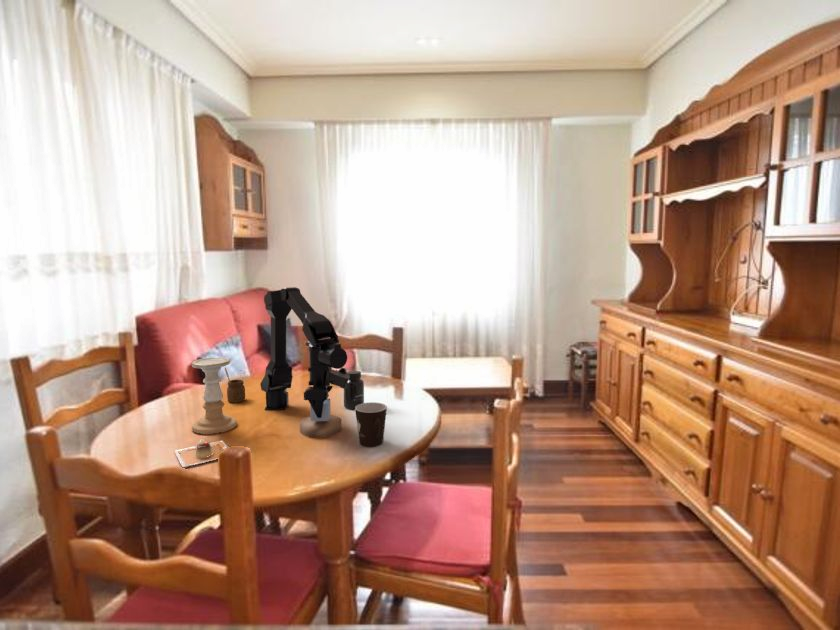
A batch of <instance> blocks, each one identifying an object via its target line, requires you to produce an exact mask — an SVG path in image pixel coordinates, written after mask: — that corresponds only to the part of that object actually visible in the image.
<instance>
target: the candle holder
mask: <svg viewBox="0 0 840 630" xmlns="http://www.w3.org/2000/svg"><path fill="white" fill-rule="evenodd" d="M230 364H231V358H228V357H219V356H218V357H216V356H215V357H207V358H206V357H205V358H199V359H196V360H194V361H192V362H191V367H192V368H195V369H201V370H202V372H204V374H205V377H204V378H203V380H202V383H203V384H205V386H204V392H203V395H202V399H203V401H205V402H204V404H203V405H202V408H203V409H204V410H205V415H204V416H203V417H200V418H199V419H198V420H196V421H194V423H192V425H191V430H192V432H193V431H194V432H193V433H195V432H196V433H195V434H198V433H201V434H200V435H214V434H213V433H216V434H220V433H219V432H221V433H225V432H228V431H231V430H233V429H234V428H235V427H236V426H237V423H238V422H237V419H236V418H235V417H233V416H230V415H229V414H226V413H225V414H224V413H223V407H224V405H225V402H224V401H222V400H223V398H224V393H223V390H222V388H221V384H220V383H221V381H222V378H221V377H220V376H219V372H220V370H221V369H222V368H223V367H225V366H228V365H230Z"/></svg>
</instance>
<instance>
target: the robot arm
mask: <svg viewBox="0 0 840 630" xmlns="http://www.w3.org/2000/svg"><path fill="white" fill-rule="evenodd" d="M263 302H264V304H265V305H264V306H265V310H266V312H267V314H268V315H269V317H270V360H269V362H268V364H267V365H266V367H265V372H264V373H265V374H264V376H263V378H262V379H261V382H260V384H259V385H260V389H261V391H262V392H265V408H264V410H265V411H266V410H276V411H277V410H285V409H286V408H287V407H288V405H289V404H290V403H289V392H288V391H287V389H292V382H293V377H294V376H293V368H292V366H291V365H290V364H289V363H288V361H287V318H288V316H289V315H290V313H291V311H293V313H294V314H295V315H296V317H297V318H298V320H300V322H301V323H302V326H301V327H302V332H303V334H304V336H305V338H306V339H307V341H306V342H305V346H307V347H308V358H309V359H308V360H309V361H308V362H309V363H308V365H309V366H308V367H307V372H308V373H309V380H308V387H307V388H306V389H305V390H304V392H303V400H304V401H308V403H309V404H311V406H312V408H313V410H314V412H315V414H316V416H317V418H321V417H322V411H323V404H324V401H325V400H326V399H329V395H330V394H329V393H330V391H332V389H333V387H334V386H336V387H339V388H341V389H343V390H344V389H345V388H346V385H347V383H348V380H349V377H350V375H349V374H347V372H348V371H347V368H345V365H346V364H347V362H348V354H347V352H346V350H345V349H344V348H342V344H341V343H340V342H339V336H338V334H337V333H336V330H335V328H334V326H333V323H332V322H331V319H329V318H327V316H325V315H323V314H321V313H318V312H317V311H315V309H314V308H313V306H311V304H310V303H309V302H308V301H307V300H306V298H305V297H304V295H303V294H302V293H301V289H300V288H298V287H295V286H293V287H292V286H291V287H284V288H281V289H278V290H268V291H267V292H266V293H265V294H264V296H263ZM335 369H336V370H335ZM337 369H338V370H337ZM333 385H334V386H333Z"/></svg>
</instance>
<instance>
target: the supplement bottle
mask: <svg viewBox="0 0 840 630" xmlns="http://www.w3.org/2000/svg"><path fill="white" fill-rule="evenodd" d="M347 374H349V375H350V377H349V380H348V383H347V385H346V388H345V389H343V406H344V408H345V409H348V410H355V407H356V406H357V405H359V404H363V403H365V382H364V380H363V379H362V371H360V370H348V371H347Z"/></svg>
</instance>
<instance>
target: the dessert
mask: <svg viewBox="0 0 840 630" xmlns="http://www.w3.org/2000/svg"><path fill="white" fill-rule="evenodd" d="M206 440H207V439H206V438H205V440H204V439H203V438H201V439H200V440H199V442H198V444H197V445H195V446H194V445H193V446H190V447H185V448H180V449H175V450H174V453H175V455H176V458H177V459H178V461H179V464H180V466H181V467H182V468H189V466H190V467H193V465H194V466H196V465H201V464H202V463H203V464H207V463H210V462H209V461H211V462H214V461H213V460H215V461H217V460H216V459H217V458H215V459H214V458H213V459H209V460H204V461H201V462H195V463H193V464H186V465H187V466H186V465H185V463H186V462H185V463H184V461H185V460H184V461H183V460H182V458H181V457H180V454H179V453H178V451H182V450H187V449H193V448H196V450H194V456H195V457H197V458H196V459H198V458H202V459H205V458H204V457H207V456H209V455H211V454H212V453H213V454H214V451H213V449H212V446H210V444H214V443H218V442H222V443H223V444H224V445H225V446H224V447H223V449H225V448H227V447H228V445H227V444H226V443H225V441H224V440H223V439H222V440H217V441H213V442H209V441H206ZM223 449H222V450H223ZM195 457H194V458H195ZM207 458H208V457H207ZM206 462H207V463H206Z"/></svg>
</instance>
